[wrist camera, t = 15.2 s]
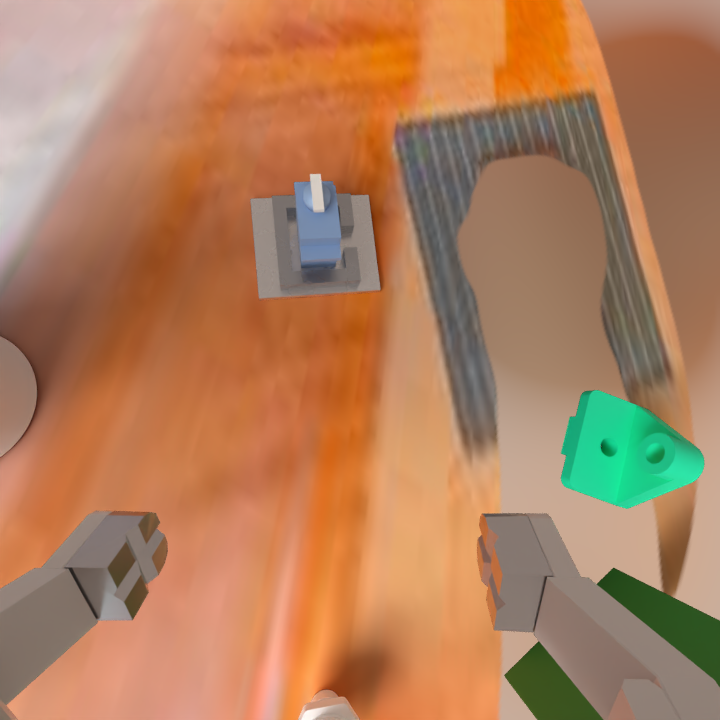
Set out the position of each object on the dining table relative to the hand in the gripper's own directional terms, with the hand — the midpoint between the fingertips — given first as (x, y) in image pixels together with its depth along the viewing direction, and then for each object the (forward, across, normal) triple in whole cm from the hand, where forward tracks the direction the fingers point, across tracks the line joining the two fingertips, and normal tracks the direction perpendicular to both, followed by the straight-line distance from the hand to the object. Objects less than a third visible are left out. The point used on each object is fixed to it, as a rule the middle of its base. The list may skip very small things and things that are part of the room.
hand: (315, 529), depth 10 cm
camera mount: (+33, +27, -23) cm, 49 cm away
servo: (+39, -6, +1) cm, 40 cm away
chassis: (+40, -6, +1) cm, 41 cm away
